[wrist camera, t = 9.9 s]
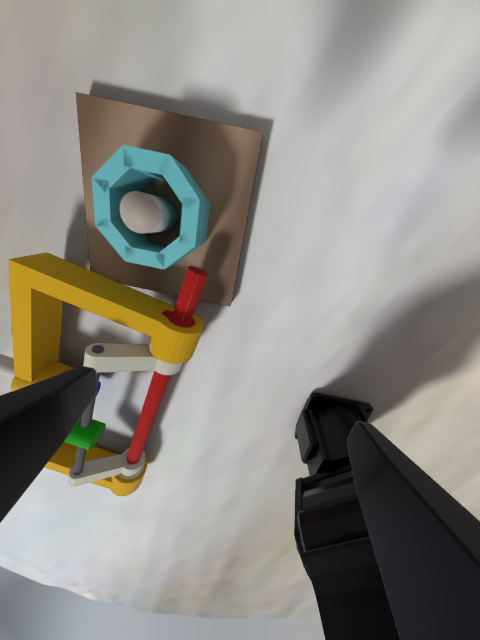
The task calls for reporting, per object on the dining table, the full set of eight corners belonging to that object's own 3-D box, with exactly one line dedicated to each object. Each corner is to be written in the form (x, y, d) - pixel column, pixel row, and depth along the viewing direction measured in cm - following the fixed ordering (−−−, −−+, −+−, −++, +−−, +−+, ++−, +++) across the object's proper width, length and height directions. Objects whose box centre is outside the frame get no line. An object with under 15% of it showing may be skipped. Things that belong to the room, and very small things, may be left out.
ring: (213, 173, 15) (203, 161, 12) (202, 266, 18) (192, 275, 15) (121, 154, 15) (89, 137, 12) (123, 250, 18) (97, 255, 15)
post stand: (262, 137, 15) (264, 100, 11) (231, 302, 20) (223, 326, 15) (86, 100, 15) (11, 45, 10) (98, 275, 20) (50, 290, 15)
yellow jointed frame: (209, 303, 12) (119, 531, 25) (226, 275, 18) (145, 472, 31) (-158, 145, 10) (-52, 478, 23) (-10, 169, 16) (9, 426, 29)
